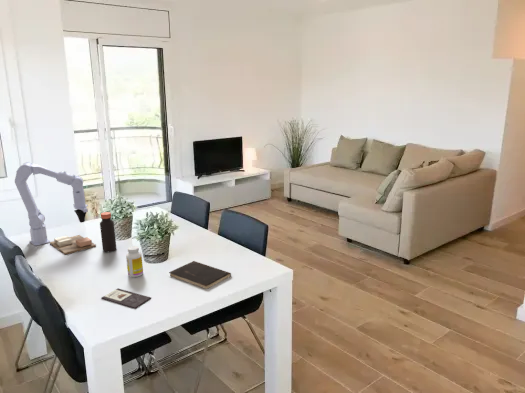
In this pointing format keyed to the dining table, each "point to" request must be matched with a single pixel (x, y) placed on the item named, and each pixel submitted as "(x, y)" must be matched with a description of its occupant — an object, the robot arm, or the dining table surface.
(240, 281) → the dining table surface
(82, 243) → the block
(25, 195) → the robot arm
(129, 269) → the supplement bottle
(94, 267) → the dining table surface
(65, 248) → the board
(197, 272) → the hardcover book
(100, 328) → the dining table surface
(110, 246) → the vinegar
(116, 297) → the chocolate bar
